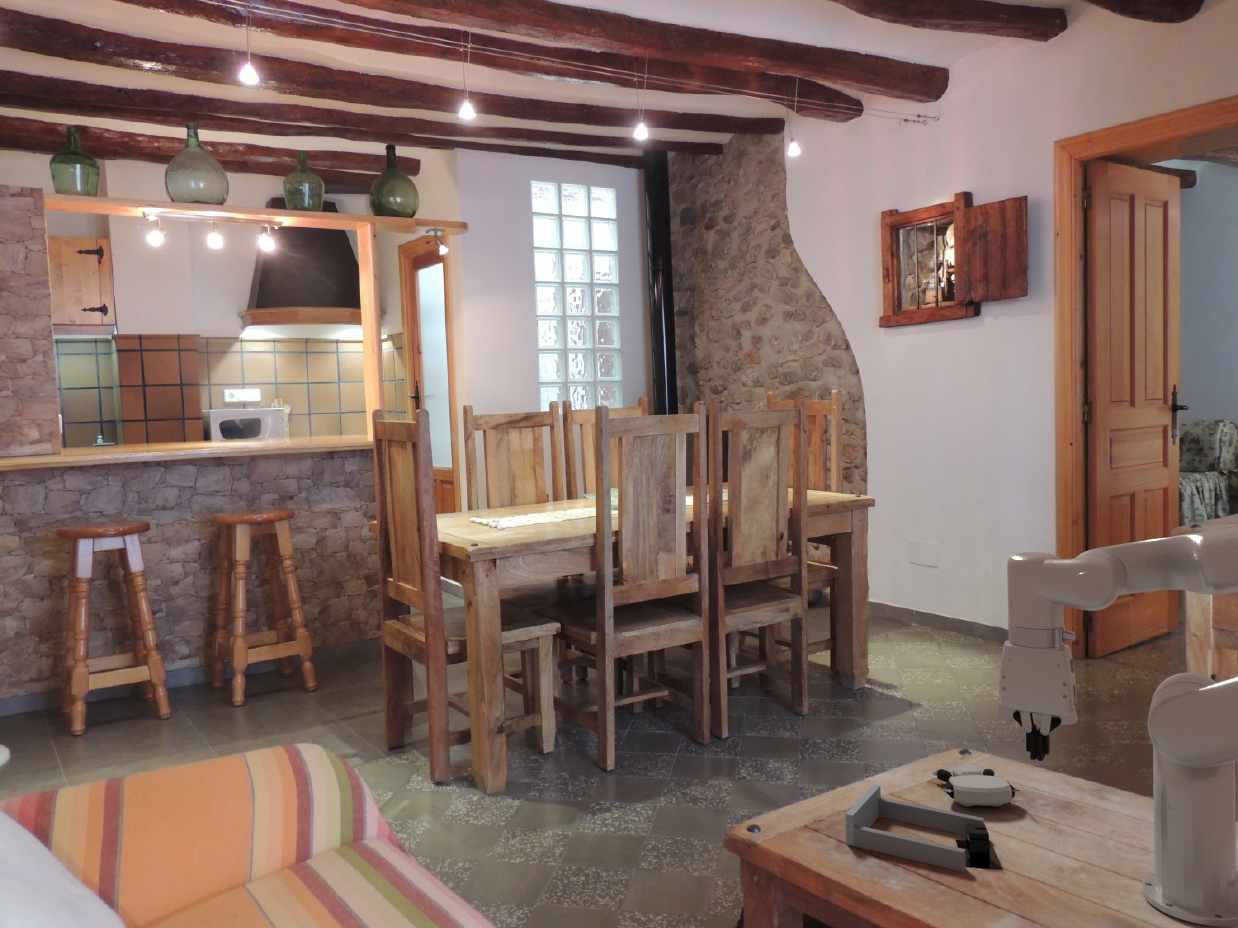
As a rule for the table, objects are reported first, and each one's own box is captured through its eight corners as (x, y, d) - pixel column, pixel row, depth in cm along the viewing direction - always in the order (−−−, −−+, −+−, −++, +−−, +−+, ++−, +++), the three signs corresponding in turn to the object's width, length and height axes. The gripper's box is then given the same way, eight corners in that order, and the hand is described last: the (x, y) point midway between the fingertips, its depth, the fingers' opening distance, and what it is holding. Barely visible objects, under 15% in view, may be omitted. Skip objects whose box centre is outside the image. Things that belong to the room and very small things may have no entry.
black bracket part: (1010, 879, 133) (1009, 848, 133) (958, 875, 135) (957, 845, 135) (994, 840, 145) (993, 812, 145) (946, 837, 147) (945, 809, 147)
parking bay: (984, 836, 146) (983, 805, 146) (964, 872, 135) (963, 839, 134) (874, 812, 156) (873, 784, 156) (846, 844, 145) (845, 813, 145)
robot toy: (928, 785, 169) (951, 814, 154) (927, 761, 169) (949, 787, 154) (996, 785, 168) (1025, 814, 153) (995, 761, 168) (1023, 787, 153)
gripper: (1095, 635, 132) (1097, 758, 133) (988, 626, 141) (990, 741, 142) (1088, 647, 126) (1090, 775, 127) (977, 636, 135) (979, 756, 135)
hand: (1038, 757), depth 134 cm, fingers closed
